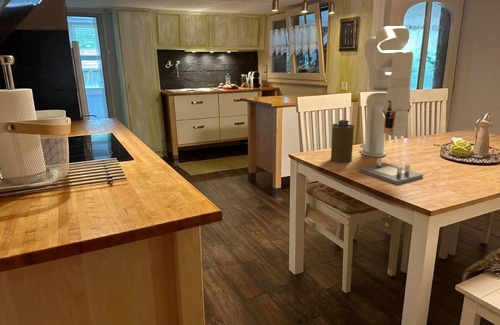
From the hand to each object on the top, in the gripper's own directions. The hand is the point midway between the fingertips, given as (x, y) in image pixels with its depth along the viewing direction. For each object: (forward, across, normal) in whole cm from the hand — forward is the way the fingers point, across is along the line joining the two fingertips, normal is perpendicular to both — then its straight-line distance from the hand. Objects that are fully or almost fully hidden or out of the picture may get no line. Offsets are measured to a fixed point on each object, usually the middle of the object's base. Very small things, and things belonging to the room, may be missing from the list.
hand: (395, 126), depth 140 cm
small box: (+4, 0, 0) cm, 4 cm away
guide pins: (+20, 0, 0) cm, 20 cm away
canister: (+21, +2, -28) cm, 35 cm away
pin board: (+21, 0, 0) cm, 21 cm away
